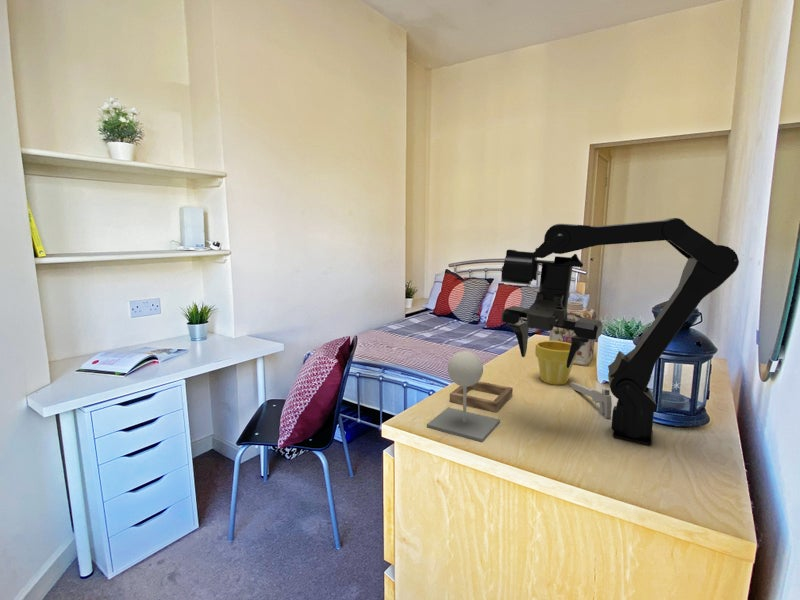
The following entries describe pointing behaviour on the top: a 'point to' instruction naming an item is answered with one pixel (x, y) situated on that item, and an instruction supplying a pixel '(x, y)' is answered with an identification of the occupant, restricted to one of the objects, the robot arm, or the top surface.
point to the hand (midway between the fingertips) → (545, 361)
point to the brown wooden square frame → (480, 403)
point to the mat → (464, 424)
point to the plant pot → (553, 361)
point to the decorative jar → (565, 335)
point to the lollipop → (465, 372)
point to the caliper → (597, 398)
